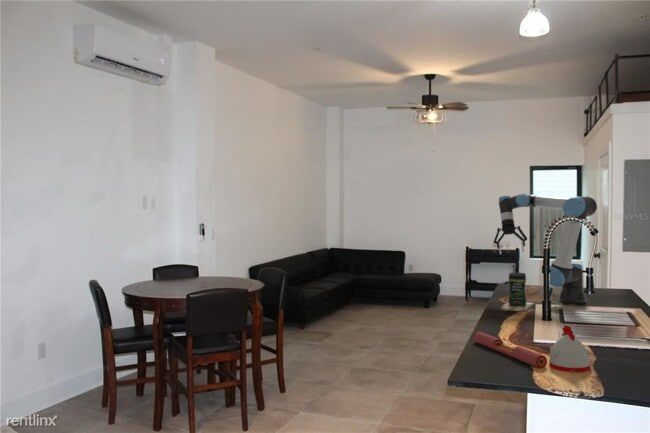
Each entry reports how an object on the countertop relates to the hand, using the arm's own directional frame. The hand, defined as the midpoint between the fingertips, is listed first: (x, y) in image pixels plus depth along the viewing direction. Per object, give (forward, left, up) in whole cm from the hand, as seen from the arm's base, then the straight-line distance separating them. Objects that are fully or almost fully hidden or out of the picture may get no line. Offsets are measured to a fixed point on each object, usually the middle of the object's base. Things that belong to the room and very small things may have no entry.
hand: (511, 252), depth 351 cm
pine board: (-9, +26, -29) cm, 40 cm away
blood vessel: (-27, +128, -30) cm, 135 cm away
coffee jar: (-9, +26, -28) cm, 39 cm away
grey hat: (-52, +136, -29) cm, 149 cm away
